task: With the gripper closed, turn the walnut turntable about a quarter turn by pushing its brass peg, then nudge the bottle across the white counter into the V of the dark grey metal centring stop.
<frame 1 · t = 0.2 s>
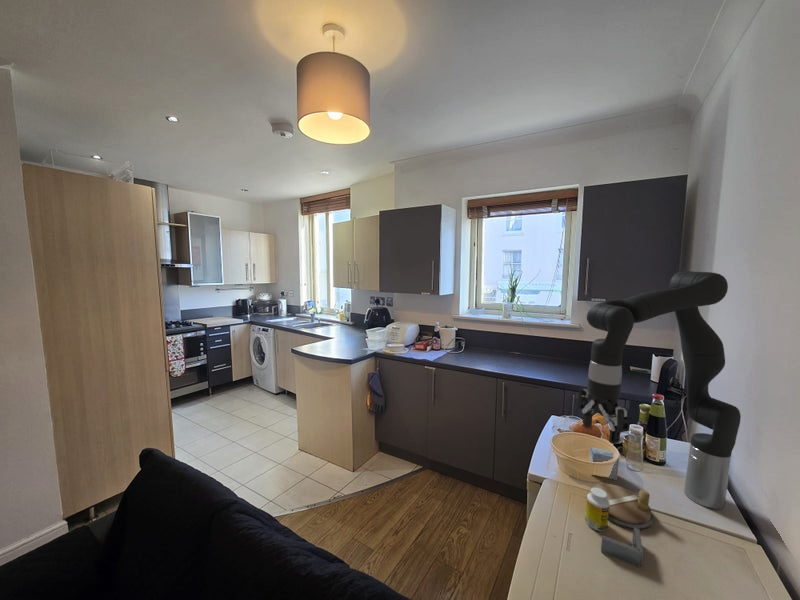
hand: (599, 434, 87), 28 cm above the table, fingers open, 8 cm apart
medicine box: (602, 474, 113), on the table
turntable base: (619, 508, 98), on the table
centring stop: (631, 558, 81), on the table
turntable: (620, 495, 97), point 4 cm above the table, hinge at 0.0°
supplement bottle: (595, 524, 92), on the table
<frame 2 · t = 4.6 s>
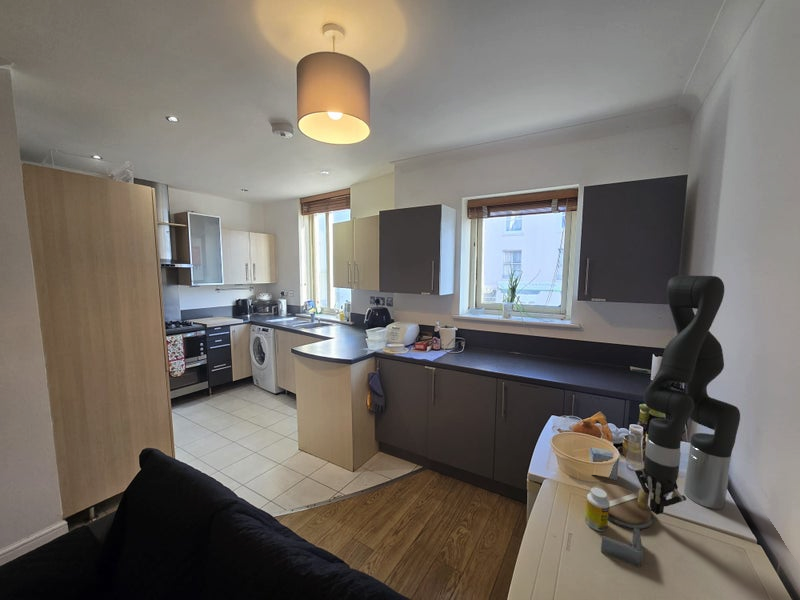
hand: (655, 512, 91), 4 cm above the table, fingers closed
turntable: (620, 495, 97), point 4 cm above the table, hinge at 5.2°, touching gripper
everything else where it was.
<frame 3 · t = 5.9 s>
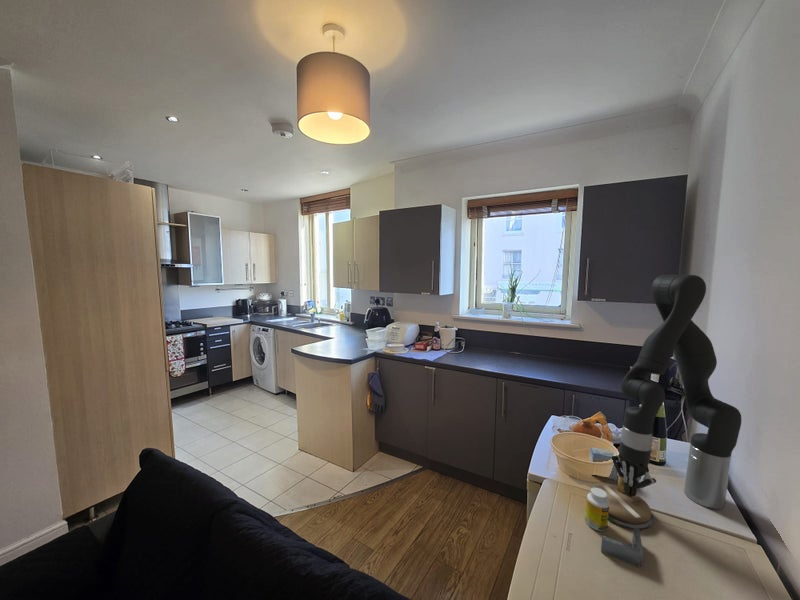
hand: (629, 494, 98), 4 cm above the table, fingers closed
turntable: (620, 495, 97), point 4 cm above the table, hinge at 82.8°, touching gripper
everything else where it was.
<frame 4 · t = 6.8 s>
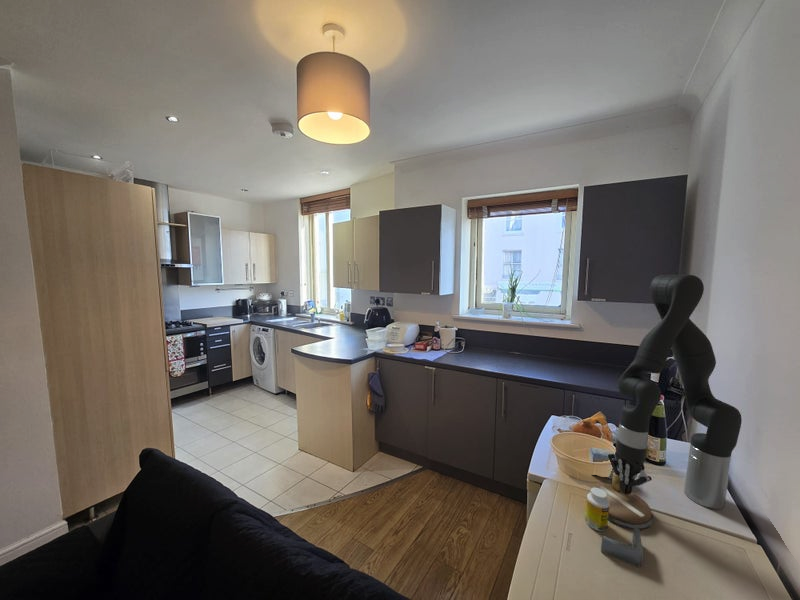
hand: (625, 492, 98), 4 cm above the table, fingers closed
turntable: (620, 495, 97), point 4 cm above the table, hinge at 98.1°, touching gripper
everything else where it was.
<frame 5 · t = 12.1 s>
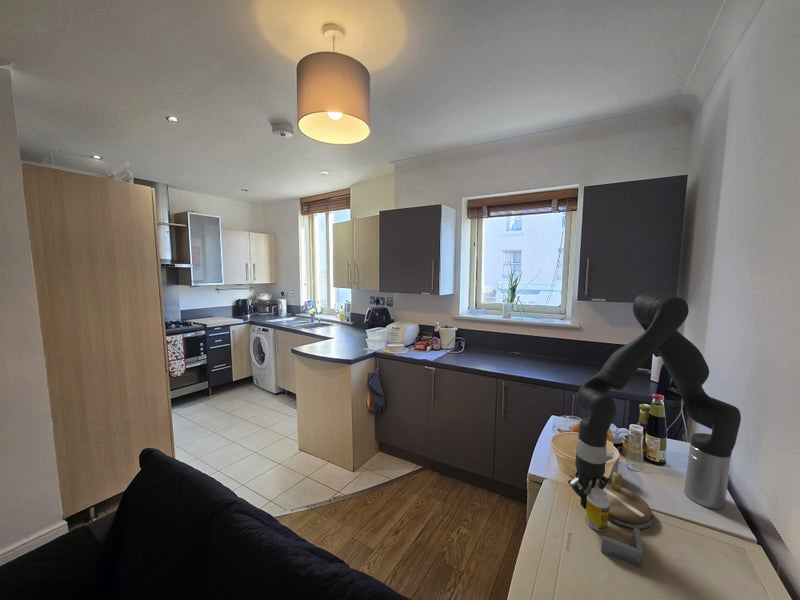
hand: (586, 507, 95), 2 cm above the table, fingers closed
turntable: (620, 495, 97), point 4 cm above the table, hinge at 98.9°
supplement bottle: (595, 524, 92), on the table, touching gripper
everything else where it was.
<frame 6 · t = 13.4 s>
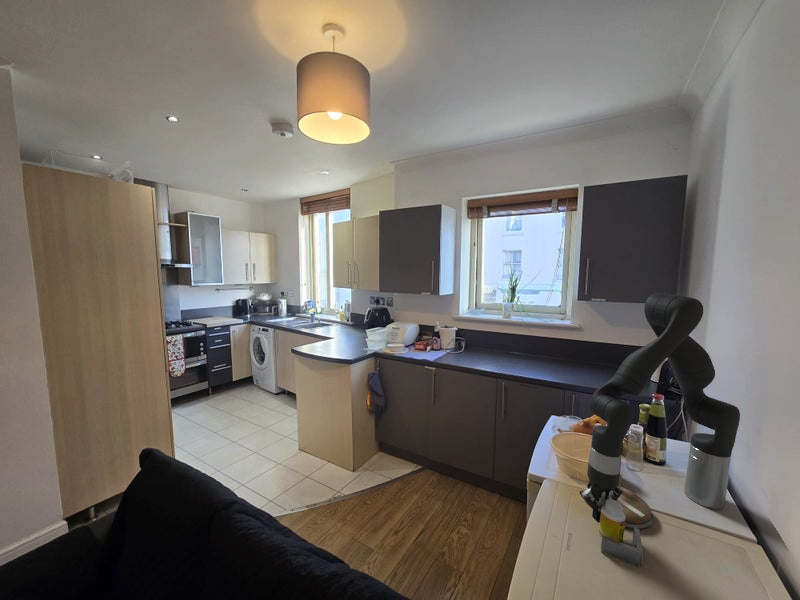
hand: (597, 519, 91), 2 cm above the table, fingers closed
supplement bottle: (610, 538, 87), on the table, touching gripper
everything else where it was.
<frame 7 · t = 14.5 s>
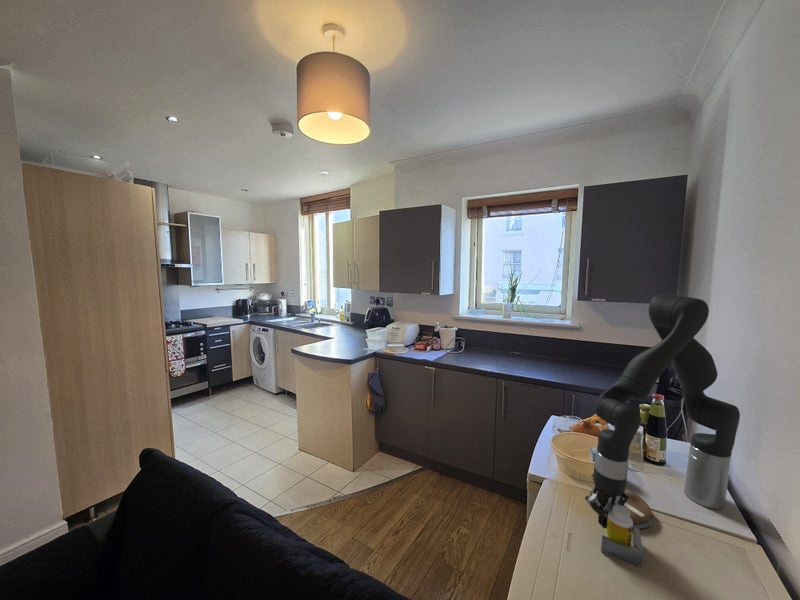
hand: (604, 525, 89), 2 cm above the table, fingers closed
supplement bottle: (617, 544, 85), on the table, touching gripper
everything else where it was.
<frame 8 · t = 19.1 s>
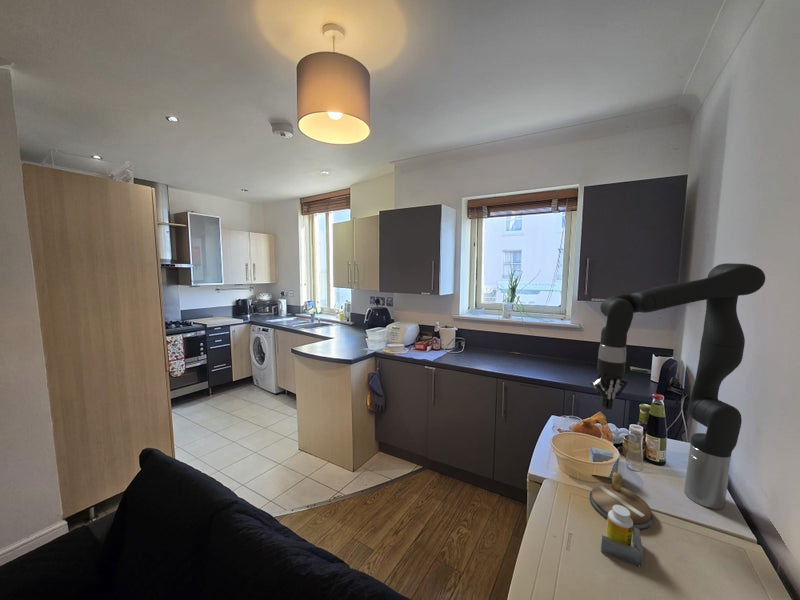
hand: (607, 408, 106), 27 cm above the table, fingers closed
supplement bottle: (617, 544, 85), on the table
everything else where it was.
at the end: supplement bottle 1.1 cm from the target spot, on the table; supplement bottle tilted 0°; turntable at +99° (first picture: +0°) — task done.
